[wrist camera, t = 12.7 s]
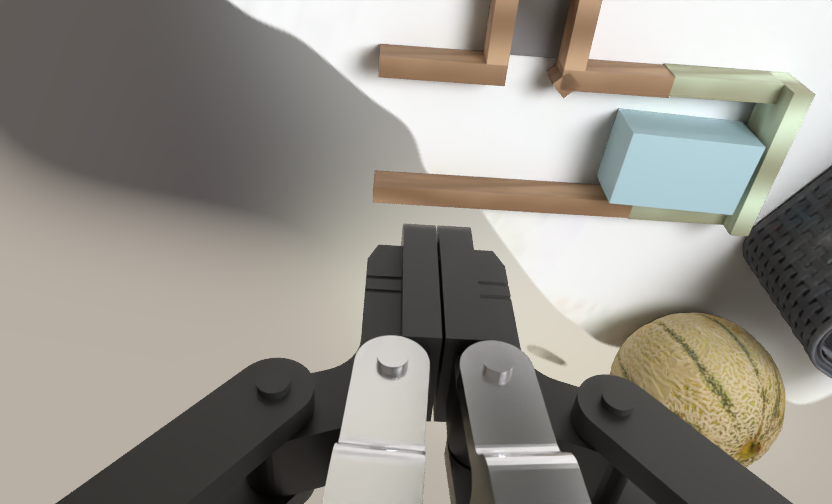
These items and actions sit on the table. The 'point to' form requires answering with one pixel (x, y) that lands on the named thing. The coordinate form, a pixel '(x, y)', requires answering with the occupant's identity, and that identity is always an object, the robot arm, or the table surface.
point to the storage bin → (799, 266)
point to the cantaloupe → (709, 379)
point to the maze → (570, 43)
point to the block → (678, 161)
